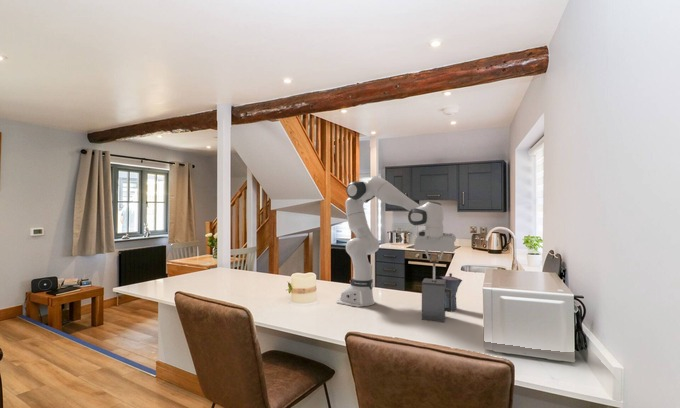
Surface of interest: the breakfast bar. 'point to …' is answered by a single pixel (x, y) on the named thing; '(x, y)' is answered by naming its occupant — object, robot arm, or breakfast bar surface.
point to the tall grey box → (435, 300)
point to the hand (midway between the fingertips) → (434, 259)
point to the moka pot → (451, 284)
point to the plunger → (433, 259)
